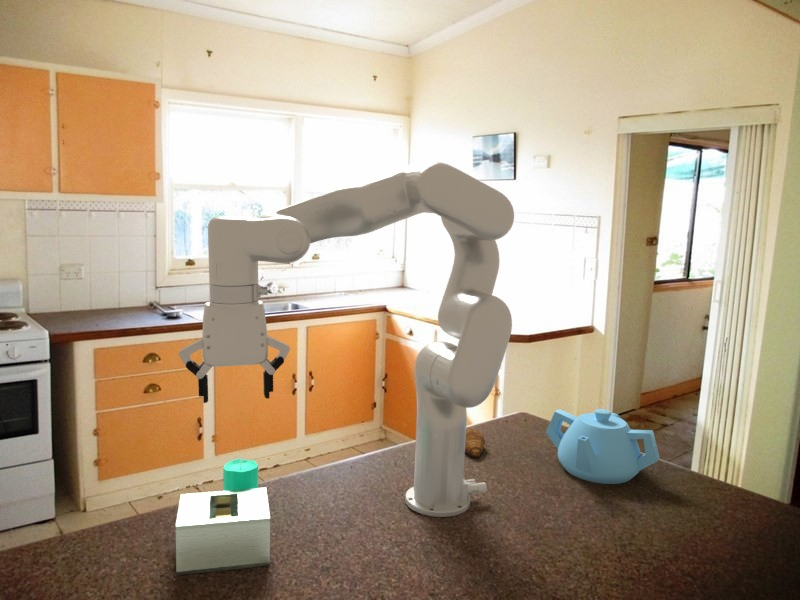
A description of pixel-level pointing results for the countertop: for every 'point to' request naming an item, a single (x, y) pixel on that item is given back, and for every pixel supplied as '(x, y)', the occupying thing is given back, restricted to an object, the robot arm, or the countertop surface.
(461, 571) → the countertop surface
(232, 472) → the candle
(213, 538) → the coin box
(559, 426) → the teapot
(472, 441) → the croissant
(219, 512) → the block
